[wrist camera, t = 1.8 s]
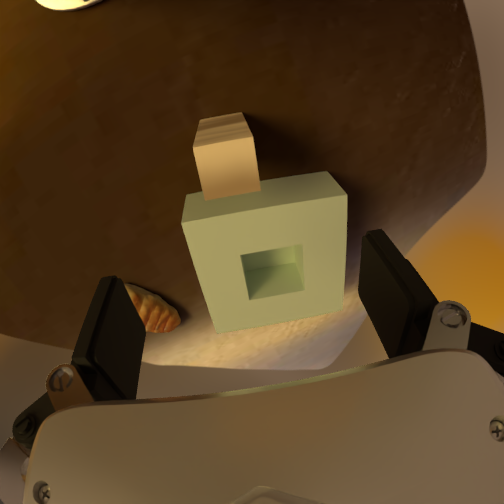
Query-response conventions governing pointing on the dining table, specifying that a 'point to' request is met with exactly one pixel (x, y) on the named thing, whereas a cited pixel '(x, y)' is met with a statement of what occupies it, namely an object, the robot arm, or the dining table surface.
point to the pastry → (153, 310)
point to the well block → (270, 251)
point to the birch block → (226, 157)
